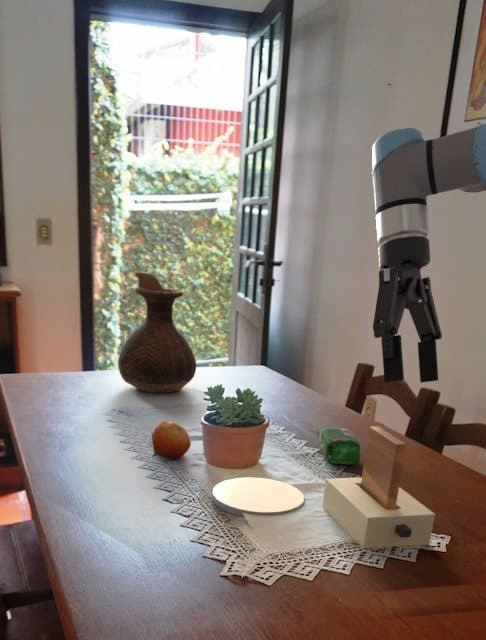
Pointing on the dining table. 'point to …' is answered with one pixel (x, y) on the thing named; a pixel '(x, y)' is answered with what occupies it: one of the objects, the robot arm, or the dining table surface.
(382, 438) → the toast
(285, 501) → the plate
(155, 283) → the jug
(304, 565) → the dining table surface
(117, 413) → the dining table surface
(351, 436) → the snack package
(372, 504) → the toaster
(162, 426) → the fruit
